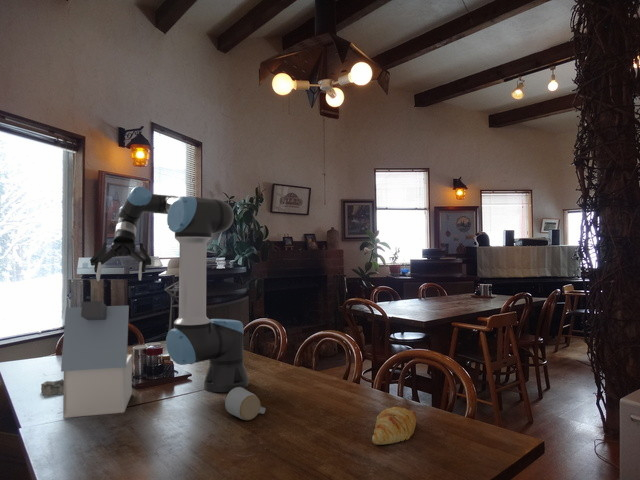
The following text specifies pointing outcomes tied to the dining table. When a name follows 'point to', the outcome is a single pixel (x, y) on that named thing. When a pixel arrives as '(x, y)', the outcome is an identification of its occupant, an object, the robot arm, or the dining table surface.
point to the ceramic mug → (243, 404)
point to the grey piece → (52, 387)
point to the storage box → (97, 391)
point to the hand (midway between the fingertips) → (118, 278)
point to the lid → (95, 337)
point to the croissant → (394, 425)
